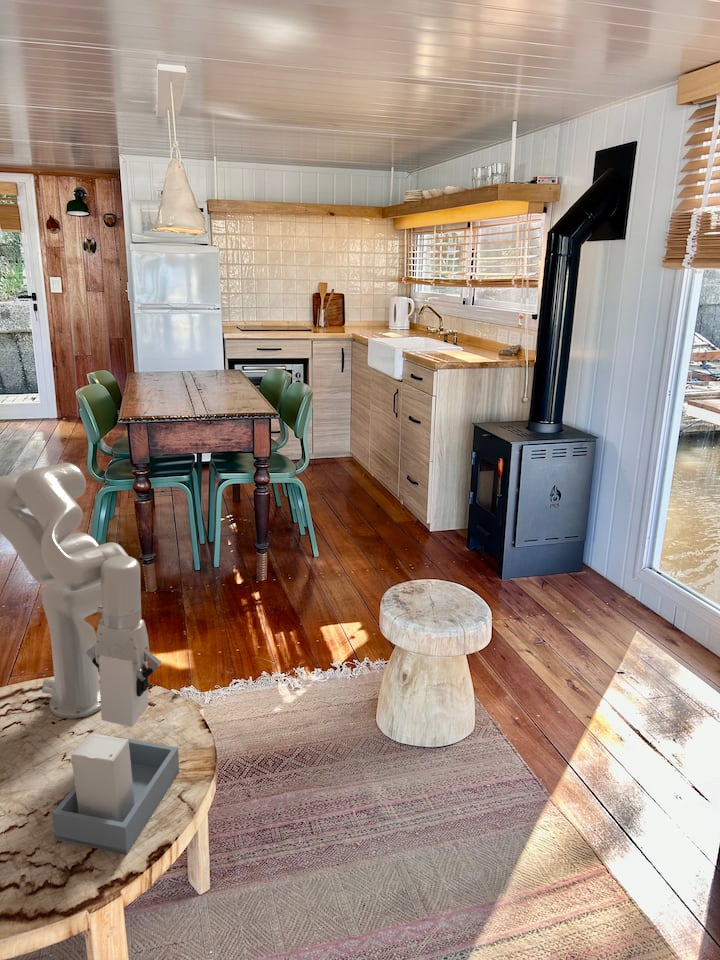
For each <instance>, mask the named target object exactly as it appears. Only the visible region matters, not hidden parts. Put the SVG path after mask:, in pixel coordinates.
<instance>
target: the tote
mask: <svg viewBox="0 0 720 960" xmlns="http://www.w3.org/2000/svg"><path fill="white" fill-rule="evenodd" d="M113 737H117V738H123V739H128V740H129V750H130V761H131V771H132V781H133V792H134V802H135V805H134V806H133V808H132V809H131V811H130V812H129V814H128V815H127V817H126V818H125V820H124V821H123V822H118V821H113V820H108V819H103V818H98V817H93V816H88V815H83V814H79V811H78V803H77V795H76V788H75V785H74V786H73V787H71V788H72V789H70V791H69V792H68V793H67V795H66V796H64V798H63V799H62V800H61V802H60V803H59V804H58V806H57V807H56V808H55V810H53V812H52V813H51V814H52V823H53V833H54V840H55V841H58V842H63V843H67V844H72V845H73V844H74V845H79V846H82V847H88V848H91V849H92V848H94V849H96V848H97V850H103V851H106V852H111V853H117V854H123V855H128V854H129V852H130V851H131V849H132V847H133V846H134V844H135V842H136V841H137V839H138V838H139V837H140V836H141V835H140V834H141V833H142V831H144V828H145V827H146V825H147V823H148V822H149V820H150V818H151V817H152V816H153V814H154V812H155V810H156V809H157V808H158V806H159V804H160V803H161V801H162V800H163V798H164V796H165V795H166V793H167V792H168V790H169V789H170V787H171V786H172V784H173V782H174V781H175V779H176V777H177V776H178V774H179V772H180V764H179V760H180V759H179V758H180V757H179V747H176V746H171V745H165V744H159V743H154V742H149V741H143V740H138V739H137V740H136V739H132V738H126V737H121V736H113Z"/></svg>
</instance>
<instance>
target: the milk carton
mask: <svg viewBox="0 0 720 960" xmlns="http://www.w3.org/2000/svg"><path fill="white" fill-rule="evenodd" d="M132 662H133V661H128V660H123V659H119V658H112V657H111V658H110V657H106V656H102V655H100V658H99V685H100V695H101V709H100V714H101V721H104V722H108V723H112V724H118V725H122V726H127V727H133V726H134V725H135V724H136V723H137V721H138V720H139V718H140V717H141V716H142V715H143V714H144V713H145V711H146V710H147V709H148V707H149V688H147V690H146V691H144V692H143V694H142V695H141V696H140V697H139V696H137V686H136V681H137V679H138V676H137V674H136V672H133V664H132ZM145 663H146V664H147V665H148V661H146V662H145ZM141 670H142V669H141ZM142 672H143V670H142Z"/></svg>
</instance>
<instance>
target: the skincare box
mask: <svg viewBox="0 0 720 960" xmlns="http://www.w3.org/2000/svg"><path fill="white" fill-rule="evenodd" d="M117 737H118V736H115V737H114V736H110V735H105V734H99V733H93V732H89V733H88V735H87V736H86V737H84V740H82V742H80V744H79V745H78V746H77V747H76V749H75V750H74V751H73V752H72V753H71V756H70V757H71V763H72V771H73V780H74V786H75V788H76V795H77V803H78V811H79V814H83V815H88V816H93V817H98V818H103V819H108V820H113V821H118V822H123V821H124V820H125V818H126V817H127V815H128V814H129V812H130V811H131V809H132V808H133V806H134V805H135V802H134V792H133V781H132V771H131V761H130V750H129V740H128V739H129V738H127V739H123V738H124V737H121V738H117Z"/></svg>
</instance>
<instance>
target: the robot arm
mask: <svg viewBox="0 0 720 960" xmlns="http://www.w3.org/2000/svg"><path fill="white" fill-rule="evenodd" d="M86 489H87V480H86V477H85V475H84V474H83V471H82V470H81V469H80V468H79V467H78V466H77V465H75V464H73V463H70V462H62V463H58V464H52V465H47V466H42V467H37V468H33V469H30V470H27V471H21V472H16V473H11V474H7V475H2V476H0V534H1V535H2V536H3V537H4V538H5V539H6V540H7V541H8V542H9V543H10V544H11V546H12V547H13V549H14V550H15V552H16V554H17V555H18V557H19V558H20V560H21V562H22V563H23V565H24V566H25V568H26V569H27V571H28V572H29V574H30V575H31V577H32V578H33V579H34V580H35V581H36V582H37V583H38V584H42V585H47V584H50V585H48V586H47V587H46V588H45V589H44V591H43V592H42V596H41V598H42V599H41V603H42V607H43V610H44V613H45V616H46V619H47V623H48V628H49V635H50V643H51V644H50V645H51V655H52V656H51V657H52V665H53V677H54V679H48V678H45V679H43V682H42V689H41V693H43V694H49V695H51V698H50V700H49V703H48V704H49V709H50V711H51V713H52V714H53V715H55V716H57V717H59V718H63V719H79V718H84V717H87V716H90V715H93V714H95V713H96V712H99V711H101V695H100V673H99V658H100V655H102V656H106V657H110V658H111V657H112V658H119V659H123V660H128V661H133V662H132V664H133V672H136V674H137V676H138V679H137V681H136V686H137V696H139V697H140V696H141V695H142V694H143V692H144V691H146V690H147V688H148V687H149V682H148V681H149V676H151V675H152V674H153V673H154V672H155V671H156V670H157V669H158V668H159V667H160V666H161V664H162V662H161V660H159V658H157V657H156V656H155V655H154V654H153V653H152V652H151V651H150V644H149V634H148V631H147V626H146V622H145V620H144V619H142V601H141V600H142V592H141V591H142V590H141V565H140V562H139V561H138V559H136V558H134V557H133V556H129V554H128V553H127V552H126V550H125V549H124V548H123V546H121V545H120V544H119V543H116V542H114V541H113V542H106V543H103V544H99V543H98V542H97V540H96V539H95V538H94V537H93V536H91V535H90V534H88V533H85V532H75V531H76V530H77V528H79V526H80V524H81V523H82V520H83V518H84V512H83V510H82V508H81V506H80V505H79V504H78V503H77V502H76V501H75V499H77V498H80V497H82V496H83V495H84V494H85V492H86ZM25 509H28V511H29V512H30V513H27V512H25V511H23V510H25ZM74 532H75V533H74ZM95 613H99V614H101V619H100V620H99V621H98V624H97V629H96V630H95V628H94V627H93V626H92V625H91V624H90V623H89V622H87V621H86V620H85V619H86V618H87V617H89V616H92V615H93V614H95ZM146 661H147V664H146V663H145V662H146ZM148 663H149V665H150V666H148ZM141 669H142V670H143V672H142V670H141ZM148 689H149V688H148Z"/></svg>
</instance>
